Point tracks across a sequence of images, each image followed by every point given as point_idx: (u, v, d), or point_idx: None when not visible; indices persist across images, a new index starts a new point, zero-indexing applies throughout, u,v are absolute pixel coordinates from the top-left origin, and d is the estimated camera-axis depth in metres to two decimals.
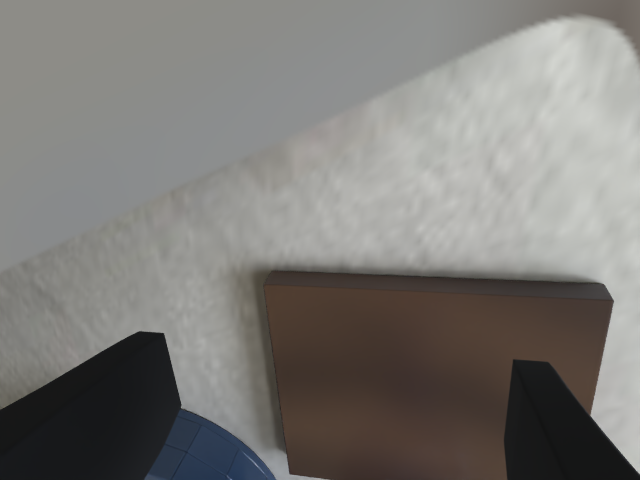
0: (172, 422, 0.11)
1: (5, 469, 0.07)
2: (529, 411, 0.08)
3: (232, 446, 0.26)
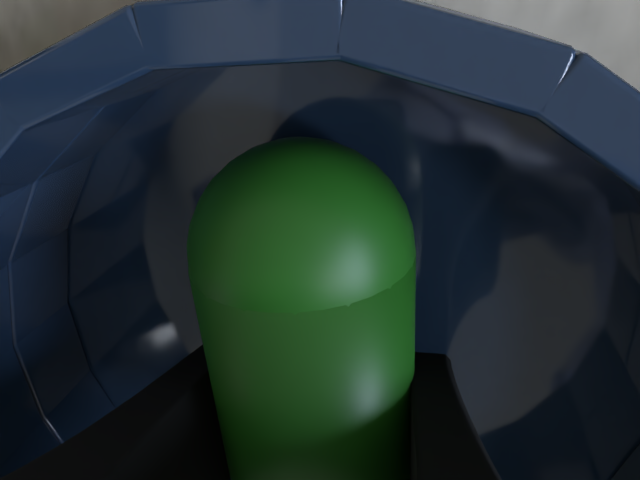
0: None
1: None
2: (411, 400, 0.08)
3: None
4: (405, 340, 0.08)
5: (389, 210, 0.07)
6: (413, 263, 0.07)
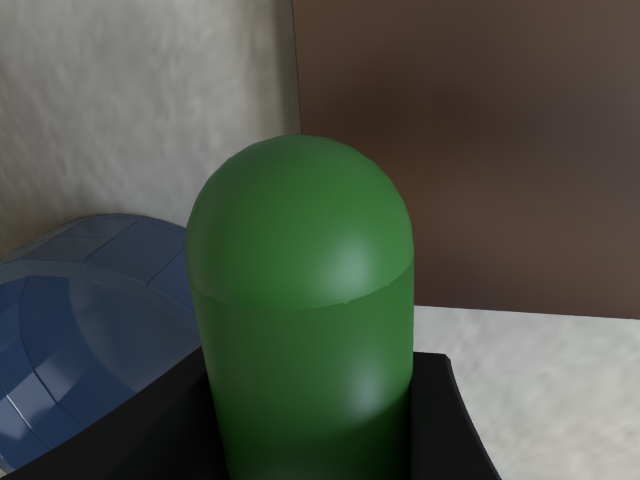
0: None
1: None
2: (411, 400, 0.08)
3: None
4: (403, 338, 0.08)
5: (387, 208, 0.07)
6: (411, 261, 0.07)
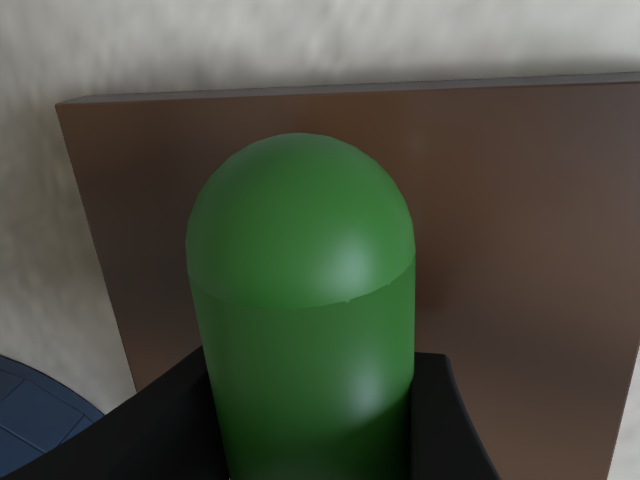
0: None
1: None
2: None
3: (73, 411, 0.17)
4: (405, 337, 0.07)
5: (388, 207, 0.07)
6: (413, 260, 0.07)
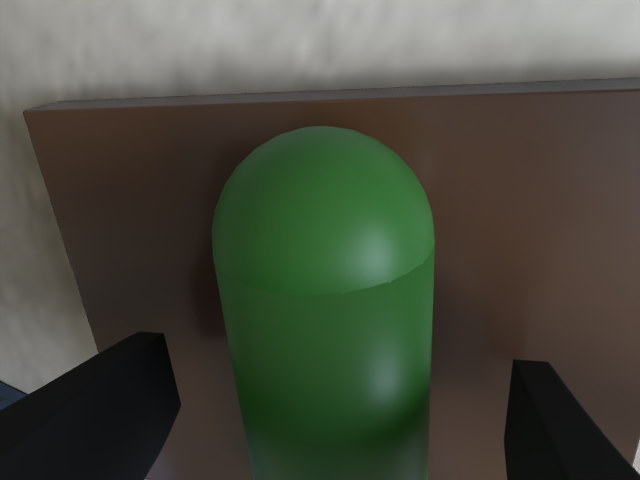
0: (172, 422, 0.11)
1: (5, 469, 0.07)
2: (529, 411, 0.08)
3: None
4: (430, 315, 0.08)
5: (416, 191, 0.07)
6: (434, 241, 0.08)
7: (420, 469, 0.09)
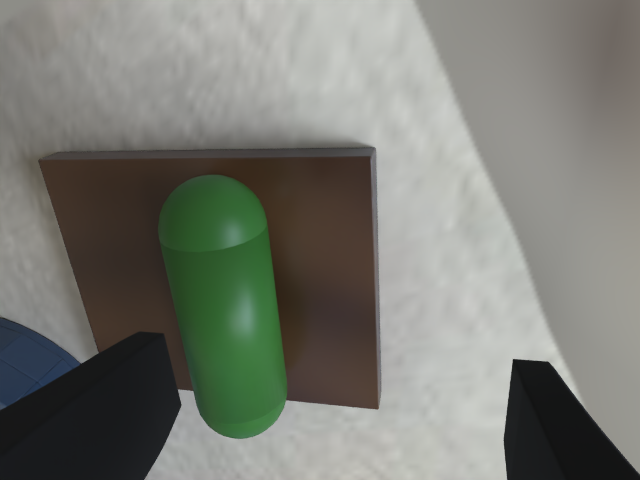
0: (172, 422, 0.11)
1: (5, 469, 0.07)
2: (529, 411, 0.08)
3: (54, 356, 0.25)
4: (270, 251, 0.17)
5: (256, 196, 0.17)
6: None
7: (279, 330, 0.18)
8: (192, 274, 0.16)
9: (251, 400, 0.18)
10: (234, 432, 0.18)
